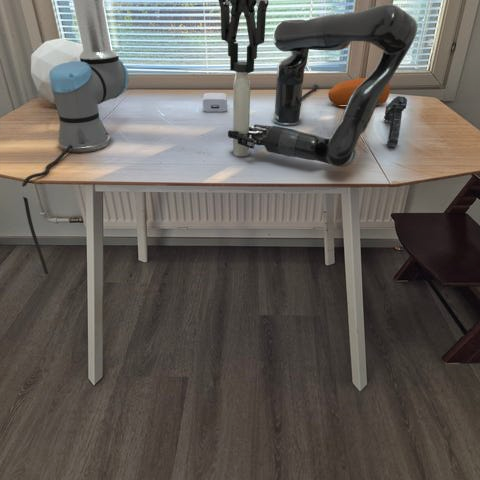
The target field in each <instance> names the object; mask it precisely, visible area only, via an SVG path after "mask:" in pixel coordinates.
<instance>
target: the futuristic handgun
mask: <svg viewBox="0 0 480 480" xmlns="http://www.w3.org/2000/svg"><path fill="white" fill-rule="evenodd" d="M407 105H408V99H407V97H406V96H400V95H398V96H396V97H394V98H393V99H392V100H391V101H390V102H389V103H388V104H387V105H386V106H385V110H384V115H383V121H385V122H389V124H390V125H389V132H388V137H387V141H386V142H387V143H386V146H395V147H396V146H398V142H399V137H400V129H401V124H402V116H403V112H404V110H406V109H407ZM384 119H385V120H384ZM386 120H388V121H386Z"/></svg>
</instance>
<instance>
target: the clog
mask: <svg viewBox="0 0 480 480" xmlns="http://www.w3.org/2000/svg"><path fill="white" fill-rule="evenodd" d="M368 77H369V76H368ZM368 77H359V78H355V79H349V80H343V81H340V82H338V83H336V85H334V86H333V87H332V88H330V90H328V91H327V95H328V96H327V97H328V100H329V101H330V102H331V103H332V105H335V104H336V105H335V106H337V107H340V108H343V109H345V108H346V106H339V105H347V103H348V101H349V99H350V97H351V95H352V94H353V92H354V91H355V90H356V89H357V87H358V86H359V85H360V84H361V83H362V82H364V81H365V80H366V79H367V78H368ZM390 93H391V85H390V82H389V83H388V84H387V86H386V88H385V89H384V91H383V93H382V95H381V97H380V99H379V101H378V103H377V105H383V104H385V103H387V101H388V98H389V96H390ZM382 103H383V104H382Z"/></svg>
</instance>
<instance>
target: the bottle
mask: <svg viewBox="0 0 480 480" xmlns="http://www.w3.org/2000/svg"><path fill="white" fill-rule="evenodd" d="M250 81H251V80H250V76H249V73H246V72H235V76H234V81H233V87H232V89H233V91H232V92H233V93H232V97H233V98H232V130H233V131H238V132H245V133H247V132H248V131H249V126H250V118H251V117H250V112H251V83H250ZM244 136H245V135H244ZM246 137H247V136H246ZM249 150H250V148H248V147H246V146H243V145H240V144H238V140H237V139H232V154H233V156H236V157H247V156H248V155H249V154H250V153H249V152H250V151H249Z"/></svg>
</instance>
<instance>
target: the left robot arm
mask: <svg viewBox="0 0 480 480" xmlns="http://www.w3.org/2000/svg"><path fill="white" fill-rule="evenodd" d="M72 2H73V7H74V12H75V16H76V21H77V27H78V31H79V36H80V41H81V46H82V47H83V51H82V53H81V54H80V61H81V62H80V61H74V62H69V63H63V64H60V65H57V66H55V67H54V68H53V69H52V70H51V71H50V74H49V76H50V81H51V88H52V92H53V95H54V99H55V103H56V104H55V107H56V111H57V114H58V118H59V132H58V133H59V134H58V145H59V148H60V149H61V150H62V152H61V153H60V154H59V155H58V156H57V158H56V159H55V160H53V161H51V162H50V163H48V164H47V165H46V166H45V170H44V171H41V172H39V173H32V174H30V175H28V176H27V177H26V178H24V180H23V182H22V185H21V187H26V186H27V185H28V182H29V181H30V180H32V179H34V178H39V177H44V176H45V175H47V174H48V173H49V171H50V168H51V167H53V166H55V165H56V164H58V163H59V162H60V161H61V159H62V158H63V157H64V156H66V154H67V153H74V154H76V153H77V154H81V153H82V154H83V153H90V152H96V151H99V150H102V149H104V148H106V147H107V146H108V145H109V144H110V143H111V140H110V139H111V138H110V135H109V133H108V130H107V129H106V127H105V125H104V123H103V121H102V120H101V116H100V112H99V107H98V105H100V104H102V103H105V102H107V101H110V100H113V99H117V98H118V97H119V96H120V95H122V94H124V93H125V92H126V90H127V89H128V87H129V84H130V74H129V71H128V68H127V65H124V62H123V60H121V59H119V57H120V56H119V53H118V52H117V51H115V49H114V48H113V46H112V41H111V40H112V39H111V35H110V28H109V23H108V16H107V10H106V4H105V0H72ZM218 4H219V7H220V37H221V41H224V42H226V43H227V55H228V57H229V67H230V68H229V69H230V71H234V62H238V61H239V43H238V40H237V35H238V29H239V24H240V19H241V16H242V14H243V17H244V18H245V22H246V29H247V35H248V43H249V44H248V45H247V46H246V62H247V70H246V73H248V74H251V73H252V72H255V60H256V59H257V58H258V46H259V45H261V44H264V43H265V39H266V35H265V34H266V20H267V18H266V17H267V9H268V6H269V0H218ZM230 5H231V9H230ZM255 7H256V8H257V9H255ZM255 16H256V17H255ZM22 198H23V202H24V208H25V214H26V218H27V222H28V226H29V230H30V234H31V237H32V240H33V243H34V245H35V248H36V251H37V254H38V256H39V259H40V263H41V265H42V268H43V272H44V274H45V275H48V274H49V270H48V267H47V264H46V261H45V258H44V255H43V252H42V250H41V246H40V244H39V241H38V237H37V235H36V231H35V228H34V225H33V220H32V216H31V210H30V203H29V200H28V197H26V196H22Z"/></svg>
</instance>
